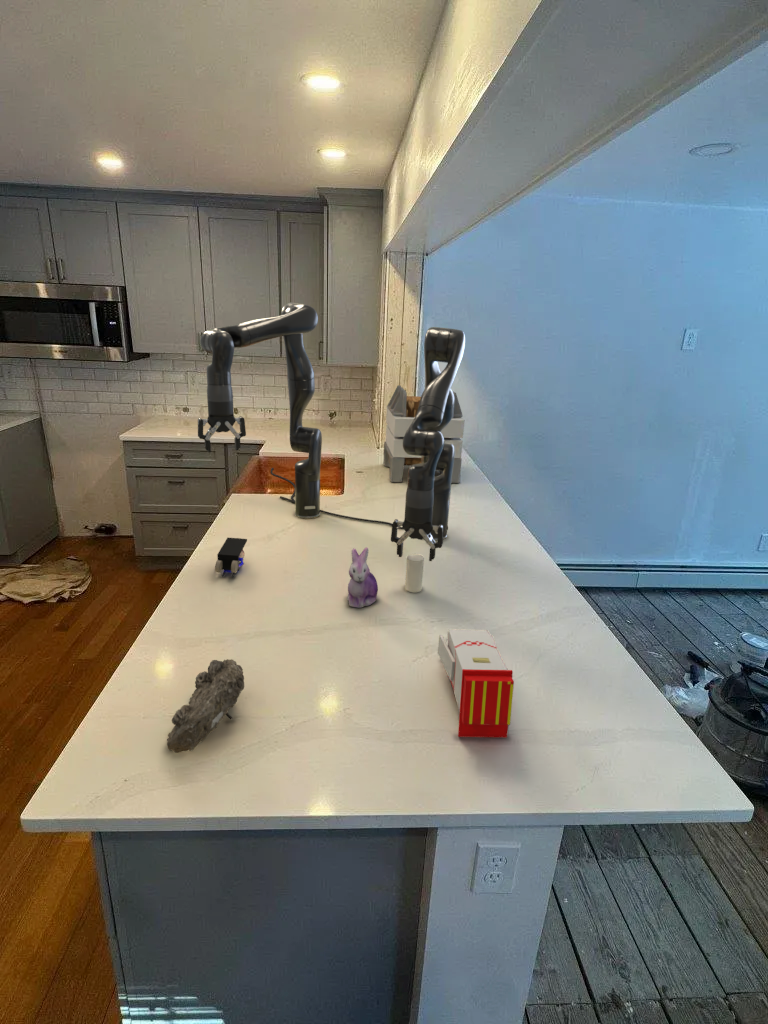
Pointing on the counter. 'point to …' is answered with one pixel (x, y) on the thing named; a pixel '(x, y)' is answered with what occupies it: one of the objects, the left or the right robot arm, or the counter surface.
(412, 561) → the canister
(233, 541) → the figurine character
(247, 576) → the counter surface
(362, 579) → the figurine
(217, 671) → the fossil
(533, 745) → the counter surface
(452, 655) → the toy
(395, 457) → the grey slatted box
